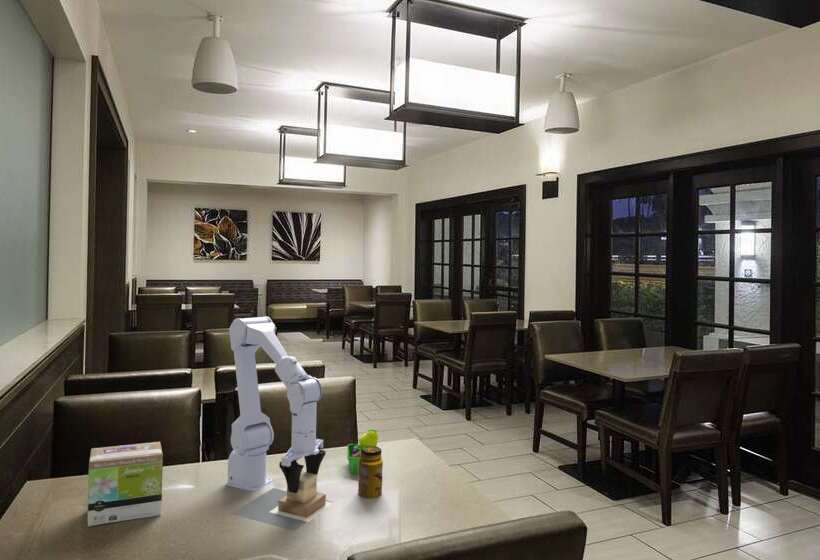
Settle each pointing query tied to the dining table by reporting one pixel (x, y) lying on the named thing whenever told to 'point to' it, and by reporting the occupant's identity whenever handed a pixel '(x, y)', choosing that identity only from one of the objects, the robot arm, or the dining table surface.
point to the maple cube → (304, 488)
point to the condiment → (370, 472)
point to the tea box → (125, 483)
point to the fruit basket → (355, 449)
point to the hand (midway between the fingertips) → (302, 486)
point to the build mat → (275, 511)
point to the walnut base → (302, 505)
